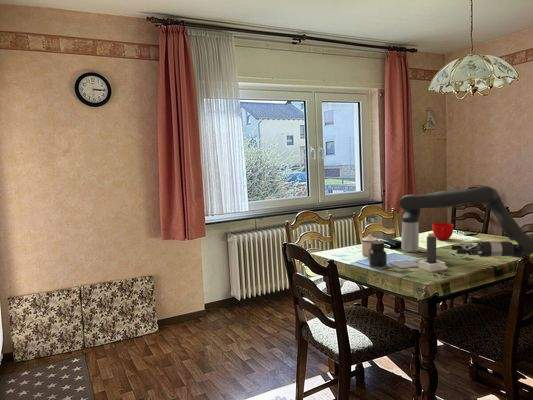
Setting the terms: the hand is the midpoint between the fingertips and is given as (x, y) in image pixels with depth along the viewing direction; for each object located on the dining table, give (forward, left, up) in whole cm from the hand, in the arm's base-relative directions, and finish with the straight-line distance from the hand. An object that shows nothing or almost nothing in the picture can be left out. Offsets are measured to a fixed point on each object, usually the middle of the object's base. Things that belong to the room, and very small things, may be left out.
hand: (454, 249), depth 204 cm
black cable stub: (-4, -10, -10) cm, 14 cm away
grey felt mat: (-16, -17, -10) cm, 25 cm away
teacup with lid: (-44, -19, -10) cm, 49 cm away
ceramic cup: (-58, +43, -10) cm, 73 cm away
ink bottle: (-22, -29, -10) cm, 38 cm away
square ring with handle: (-1, -10, -10) cm, 14 cm away
